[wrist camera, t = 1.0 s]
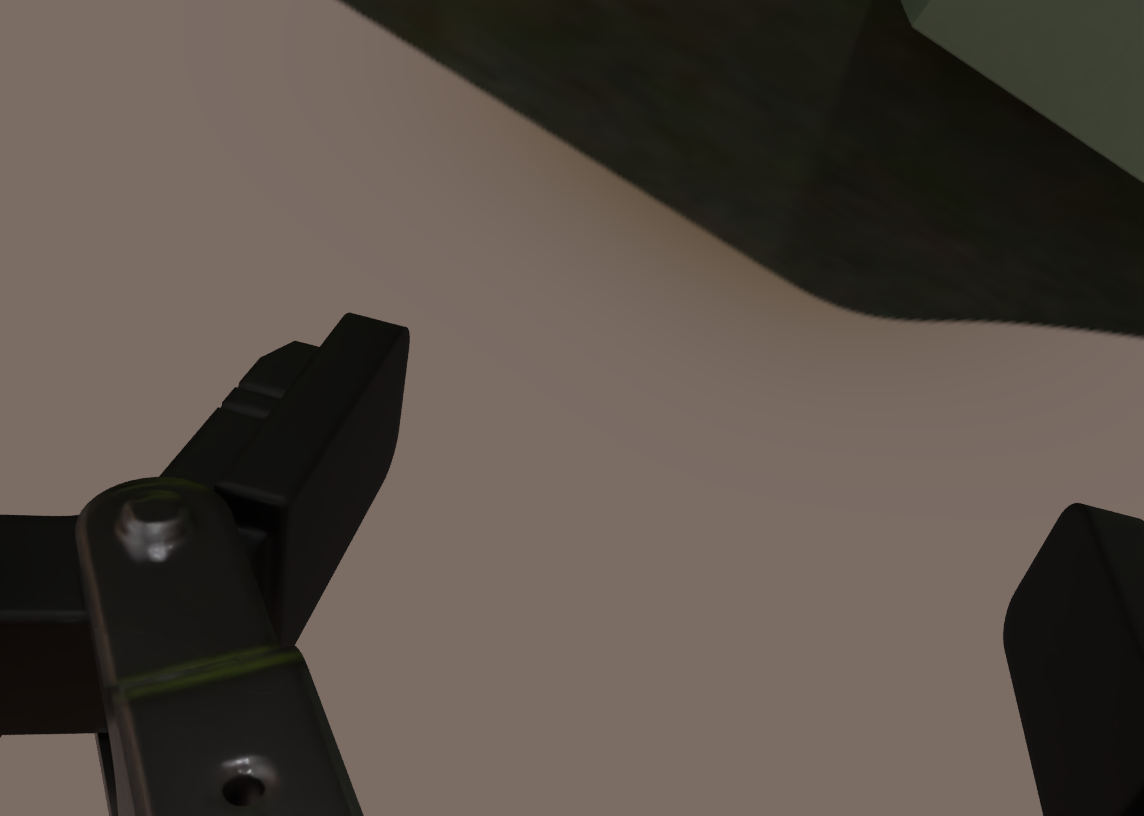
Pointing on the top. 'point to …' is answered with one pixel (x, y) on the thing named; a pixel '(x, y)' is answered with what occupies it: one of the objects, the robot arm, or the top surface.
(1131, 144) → the cabinet
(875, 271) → the top surface
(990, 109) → the top surface
